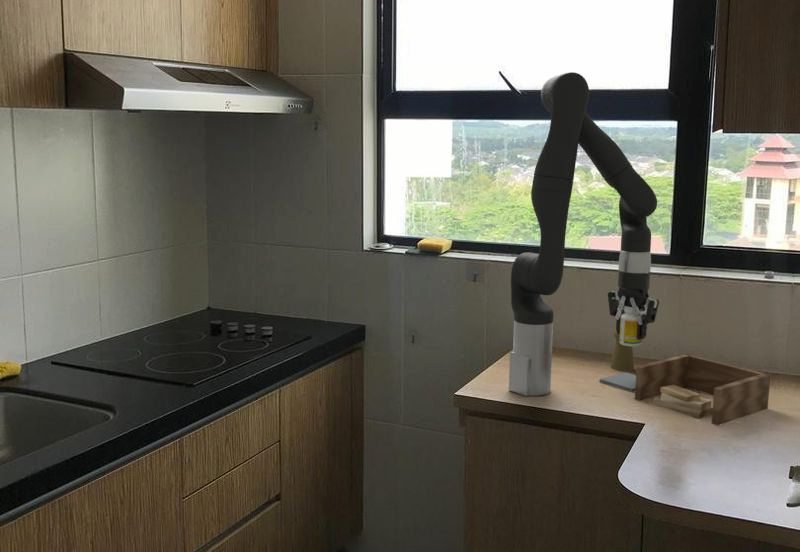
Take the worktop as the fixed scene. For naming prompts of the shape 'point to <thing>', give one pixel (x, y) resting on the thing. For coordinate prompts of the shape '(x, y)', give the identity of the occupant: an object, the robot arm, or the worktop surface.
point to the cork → (622, 356)
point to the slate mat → (621, 381)
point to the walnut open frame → (707, 384)
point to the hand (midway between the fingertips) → (630, 336)
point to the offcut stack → (683, 401)
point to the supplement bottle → (629, 328)
